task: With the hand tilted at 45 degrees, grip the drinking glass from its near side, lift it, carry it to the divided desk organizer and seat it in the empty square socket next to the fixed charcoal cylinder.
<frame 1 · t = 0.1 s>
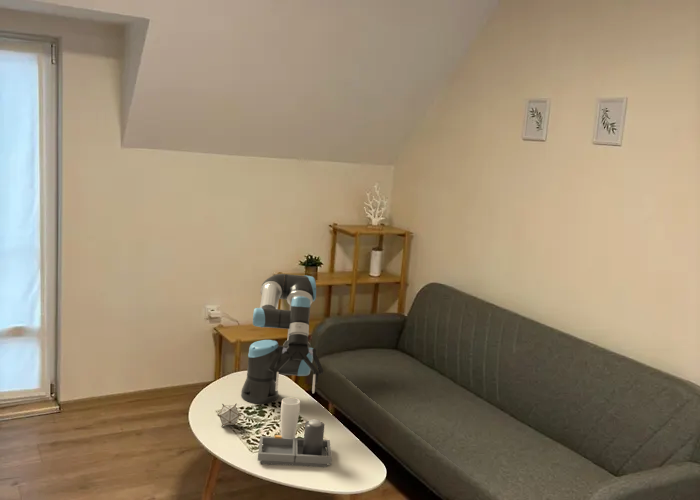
hand: (294, 391, 240), 15 cm above the table, tool tilted 35°, fingers open, 13 cm apart
divided desk organizer: (294, 455, 223), on the table
game die: (228, 425, 241), on the table
drinking glass: (287, 440, 234), on the table
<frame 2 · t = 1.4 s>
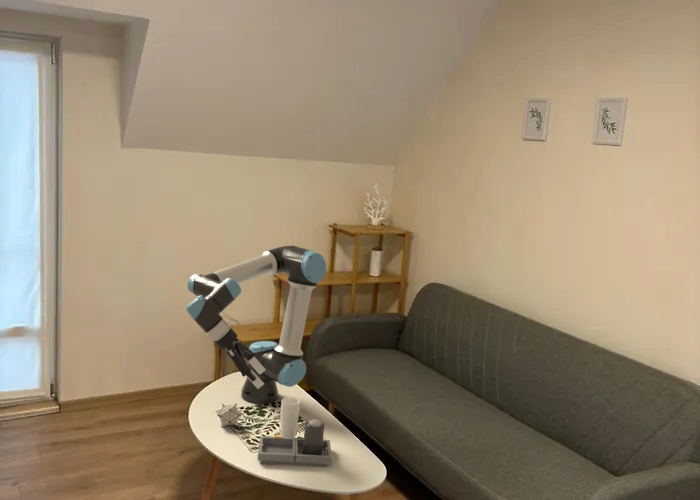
hand: (261, 379, 229), 23 cm above the table, tool tilted 45°, fingers open, 13 cm apart
nothing on the table moved.
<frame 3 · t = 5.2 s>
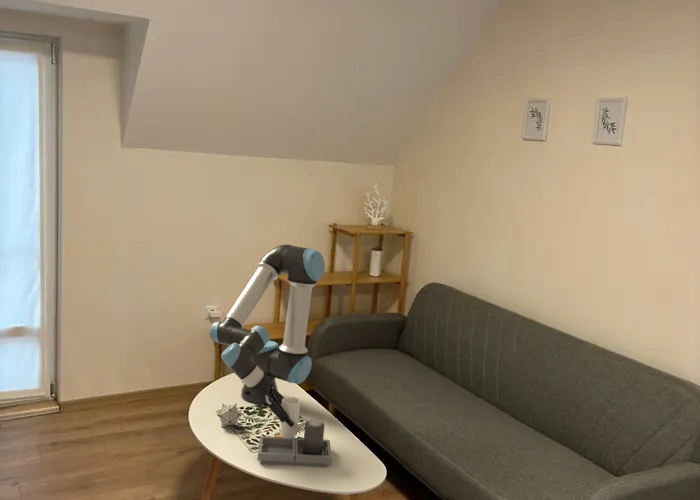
hand: (298, 426, 234), 5 cm above the table, tool tilted 45°, fingers closed on drinking glass, 7 cm apart
drinking glass: (287, 440, 234), on the table, touching gripper
everything else where it was.
when the fingers open (8 cm above the table, at t = 9.9 s): drinking glass drops 1 cm, resting on divided desk organizer.
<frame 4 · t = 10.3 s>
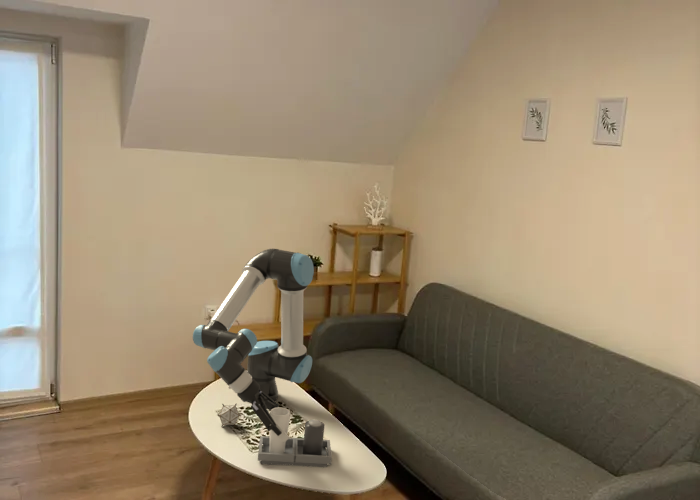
hand: (286, 431, 222), 9 cm above the table, tool tilted 45°, fingers open, 11 cm apart
drinking glass: (276, 452, 223), point 1 cm above the table, touching divided desk organizer
everything else where it was.
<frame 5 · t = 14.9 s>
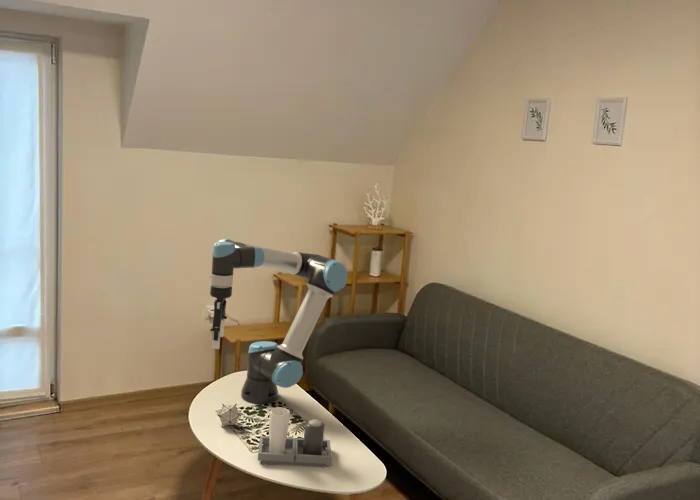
hand: (217, 342, 235), 32 cm above the table, tool pointing down, fingers open, 13 cm apart
nothing on the table moved.
at the end: drinking glass inside the target area on the divided desk organizer (0.1 cm from its centre), point 0.8 cm above the divided desk organizer's base; drinking glass tilted 0°; the gripper is holding nothing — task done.
